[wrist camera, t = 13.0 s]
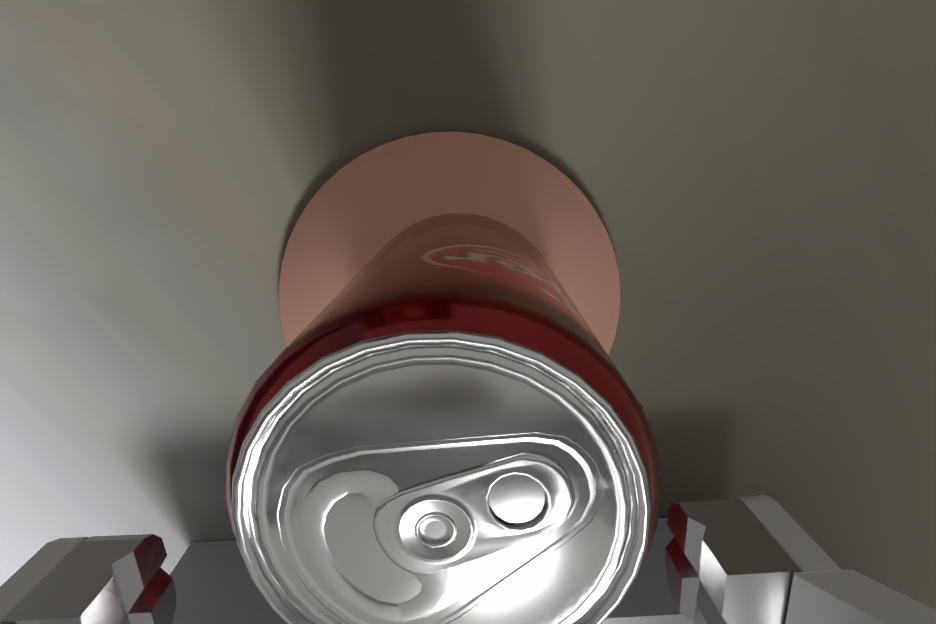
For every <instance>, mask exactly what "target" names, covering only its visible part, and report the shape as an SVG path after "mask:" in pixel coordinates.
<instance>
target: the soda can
mask: <svg viewBox="0 0 936 624" xmlns="http://www.w3.org/2000/svg"><path fill="white" fill-rule="evenodd" d="M660 494H661V473H660V466H659V459H658V452H657V445H656V441H655V439H654V436H653V433H652V431H651V428H650V426H649V423H648V421H647V418H646V416H645V413H644V410H643V408H642V406H641V404H640V403H639V401H638V400H637V398H636V397H635V395H634V394H633V392H632V391H631V389H630V388H629V386H628V385H627V383H626V382H625V380H624V379H623V377H622V375H621V374H620V372H619V371H618V369H617V368H616V366H615V365H614V363H613V362H612V360H611V359H610V357H609V356H608V354H607V353H606V351H605V350H604V348H603V347H602V345H601V344H600V342H599V341H598V339H597V338H596V336H595V335H594V333H593V332H592V330H591V329H590V327H589V326H588V324H587V322H586V321H585V319H584V318H583V316H582V315H581V313H580V312H579V310H578V309H577V307H576V306H575V304H574V303H573V301H572V300H571V298H570V297H569V295H568V294H567V292H566V291H565V289H564V288H563V286H562V285H561V283H560V282H559V280H558V279H557V277H556V276H555V274H554V272H553V271H552V269H551V268H550V266H549V265H548V263H547V262H546V261H545V259H544V258H543V256H542V255H541V253H540V252H539V250H538V249H537V248H536V247H535V246H534V245H533V244H532V243H531V242H530V241H529V240H528V239H527V238H526V237H525V236H524V235H522V234H521V233H519V232H518V231H516V230H515V229H513V228H511V227H510V226H508V225H507V224H504V223H502V222H499V221H497V220H494V219H491V218H489V217H485V216H479V215H474V214H468V213H460V214H443V215H439V216H435V217H431V218H426V219H424V220H422V221H419V222H417V223H415V224H413V225H411V226H409V227H407V228H405V229H404V230H403V231H401V232H400V233H399V234H397V235H396V236H395V237H393V238H392V239H391V240H390V241H389V242H388V243H387V244H386V245H385V246H384V247H383V248H382V249H381V250H380V251H379V252H378V253H377V254H376V255H375V256H374V257H373V258H372V259H371V260H370V261H369V263H368V264H367V265H366V266H365V267H364V268H363V269H362V270H361V271H360V272H359V273H358V274H357V275H356V276H355V277H354V278H353V279H352V280H351V281H350V282H349V283H348V284H347V285H346V286H345V287H344V288H343V290H342V291H341V292H340V293H339V294H338V295H337V296H336V297H335V298H334V299H333V300H332V301H331V302H330V303H329V304H328V305H327V306H326V307H325V308H324V309H323V310H322V311H321V312H320V313H319V314H318V315H317V317H316V318H315V319H314V320H313V321H312V322H311V323H310V324H309V325H308V326H307V327H306V328H305V329H304V330H303V331H302V332H301V333H300V334H299V335H298V336H297V337H296V338H295V339H294V340H293V341H292V342H291V344H290V345H289V346H288V347H287V348H286V349H285V350H284V351H283V352H282V353H281V354H280V355H279V356H278V358H277V359H276V360H275V361H274V362H273V363H272V364H271V365H270V367H269V368H268V369H267V370H266V371H265V372H264V373H263V374H262V375H261V377H260V378H259V379H258V380H257V381H256V383H255V385H254V387H253V388H252V390H251V392H250V394H249V396H248V398H247V399H246V401H245V403H244V405H243V407H242V409H241V410H240V412H239V414H238V416H237V420H236V423H235V427H234V431H233V434H232V438H231V442H230V445H229V449H228V453H227V466H226V502H227V507H228V512H229V517H230V522H231V526H232V531H233V534H234V536H235V539H236V541H237V545H238V549H239V551H240V553H241V555H242V558H243V560H244V562H245V564H246V567H247V569H248V571H249V573H250V576H251V578H252V580H253V582H254V583H255V585H256V586H257V588H258V589H259V590H260V592H261V593H262V595H263V596H264V597H265V599H266V600H267V602H268V603H269V604H270V606H271V607H272V609H273V610H274V611H275V612H276V613H277V614H278V615H279V616H280V617H281V618H282V619H283V620H285V621H286V622H287V623H288V624H602V623H603V622H604V621H605V620H606V618H607V617H608V616H609V615H610V614H611V613H612V612H613V611H614V610H615V609H616V607H617V606H618V605H619V604H620V603H621V601H622V600H623V598H624V596H625V594H626V593H627V591H628V589H629V588H630V586H631V584H632V583H633V581H634V579H635V578H636V576H637V574H638V573H639V570H640V568H641V567H642V565H643V563H644V562H645V560H646V558H647V555H648V552H649V549H650V546H651V543H652V540H653V537H654V534H655V531H656V528H657V525H658V516H659V505H660Z"/></svg>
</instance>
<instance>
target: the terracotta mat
mask: <svg viewBox="0 0 936 624" xmlns="http://www.w3.org/2000/svg"><path fill="white" fill-rule="evenodd" d="M460 213H468V214H474V215H479V216H485V217H489V218H491V219H494V220H497V221H499V222H502V223H504V224H507V225H508V226H510V227H511V228H513V229H515V230H516V231H518V232H519V233H521V234H522V235H524V236H525V237H526V238H527V239H528V240H529V241H530V242H531V243H532V244H533V245H534V246H535V247H536V248H537V249H538V250H539V252H540V253H541V255H542V256H543V258H544V259H545V261H546V262H547V263H548V265H549V266H550V268H551V269H552V271H553V272H554V274H555V276H556V277H557V279H558V280H559V282H560V283H561V285H562V286H563V288H564V289H565V291H566V292H567V294H568V295H569V297H570V298H571V300H572V301H573V303H574V304H575V306H576V307H577V309H578V310H579V312H580V313H581V315H582V316H583V318H584V319H585V321H586V322H587V324H588V326H589V327H590V329H591V330H592V332H593V333H594V335H595V336H596V338H597V339H598V341H599V342H600V344H601V345H602V347H603V348H604V350H605V351H606V353H607V354H608V356H609V354H610V351H611V348H612V345H613V342H614V339H615V335H616V330H617V325H618V320H619V313H620V295H621V293H620V281H619V271H618V267H617V262H616V257H615V253H614V250H613V247H612V244H611V241H610V239H609V236H608V233H607V231H606V229H605V227H604V225H603V223H602V221H601V219H600V218H599V216H598V214H597V212H596V210H595V209H594V208H593V206H592V205H591V204H590V202H589V201H588V199H587V198H586V197H585V195H584V194H583V193H582V191H581V190H580V189H579V188H578V187H577V186H576V185H575V184H574V183H573V182H572V181H571V180H570V179H569V178H568V177H567V176H566V175H565V174H563V173H562V172H561V171H559V170H558V169H557V168H556V167H554V166H553V165H552V164H550V163H549V162H548V161H546V160H545V159H543V158H541V157H539V156H538V155H536V154H534V153H532V152H531V151H529V150H527V149H525V148H523V147H520V146H518V145H515V144H513V143H510V142H508V141H505V140H502V139H498V138H494V137H490V136H486V135H482V134H474V133H465V132H430V133H424V134H419V135H413V136H407V137H404V138H401V139H398V140H395V141H391V142H388V143H385V144H383V145H380V146H378V147H376V148H374V149H372V150H370V151H368V152H366V153H364V154H362V155H360V156H359V157H357V158H356V159H354V160H353V161H351V162H350V163H348V164H347V165H345V166H344V167H343V168H341V169H340V170H339V171H338V172H337V173H336V174H334V175H333V176H332V177H331V178H330V179H329V180H328V181H327V182H326V183H325V184H324V185H323V186H322V187H321V188H320V189H319V191H318V192H317V193H316V194H315V195H314V197H313V198H312V199H311V200H310V201H309V203H308V204H307V206H306V208H305V209H304V211H303V212H302V214H301V216H300V217H299V219H298V221H297V222H296V225H295V227H294V229H293V231H292V234H291V236H290V238H289V241H288V243H287V247H286V250H285V254H284V258H283V261H282V266H281V274H280V281H279V310H280V317H281V324H282V330H283V333H284V337H285V340H286V344H287V347H288V346H289V345H290V344H291V342H292V341H293V340H294V339H295V338H296V337H297V336H298V335H299V334H300V333H301V332H302V331H303V330H304V329H305V328H306V327H307V326H308V325H309V324H310V323H311V322H312V321H313V320H314V319H315V318H316V317H317V315H318V314H319V313H320V312H321V311H322V310H323V309H324V308H325V307H326V306H327V305H328V304H329V303H330V302H331V301H332V300H333V299H334V298H335V297H336V296H337V295H338V294H339V293H340V292H341V291H342V290H343V288H344V287H345V286H346V285H347V284H348V283H349V282H350V281H351V280H352V279H353V278H354V277H355V276H356V275H357V274H358V273H359V272H360V271H361V270H362V269H363V268H364V267H365V266H366V265H367V264H368V263H369V261H370V260H371V259H372V258H373V257H374V256H375V255H376V254H377V253H378V252H379V251H380V250H381V249H382V248H383V247H384V246H385V245H386V244H387V243H388V242H389V241H390V240H391V239H392V238H393V237H395V236H396V235H397V234H399V233H400V232H401V231H403V230H404V229H405V228H407V227H409V226H411V225H413V224H415V223H417V222H419V221H422V220H424V219H426V218H431V217H435V216H439V215H443V214H460Z"/></svg>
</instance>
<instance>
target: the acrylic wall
mask: <svg viewBox="0 0 936 624" xmlns="http://www.w3.org/2000/svg"><path fill="white" fill-rule="evenodd" d="M667 521H668V518H658V525H657V528H656V531H655V534H654V537H653V540H652V543H651V546H650V549H649V552H648V555H647V558H646V560H645V562H644V563H643V565H642V567H641V568H640V570H639V573H638V574H637V576H636V578H635V579H634V581H633V583H632V584H631V586H630V588H629V589H628V591H627V593H626V594H625V596H624V598H623V600H622V601H621V603H620V604H619V605H618V606H617V607H616V609H615V610H614V611H613V612H612V613H611V614H610V615H609V616H608V617H607V618H606V620H605V621H604V622H603V623H602V624H694V622H693V621H691V620H690V619H688V618H687V617H686V616H684V615H683V614H682V613H680V612H679V610H678V608H677V606H676V604H675V602H674V600H673V597H672V594H671V592H670V589H669V586H668V582H667V576H666V569H665V547H666V546H667V545H668V544H669V543H670V541H671V540H672V539H673V538H674V535H673V533H672V532H671V530H670V528H669V526H668V525H667ZM170 576H171V577H172V578H173V580H174V584H175V589H176V609H175V613H174V617H173V620H172V624H288V623H287V622H286V621H285V620H283V619H282V618H281V617H280V616H279V615H278V614H277V613H276V612H275V611H274V610H273V609H272V607H271V606H270V604H269V603H268V602H267V600H266V599H265V597H264V596H263V595H262V593H261V592H260V590H259V589H258V588H257V586H256V585H255V583H254V582H253V580H252V578H251V576H250V573H249V571H248V569H247V567H246V564H245V562H244V560H243V558H242V555H241V553H240V551H239V549H238V545H237V541H236V540H225V541H205V542H192V543H191V544H190V546H189V547H188V549H187V550H186V552H185V553H184V555H183V556H182V558H181V559H180V561H179V562H178V564H177V565H176V567H175V568H174V570H173V571H172V573H171V574H170Z"/></svg>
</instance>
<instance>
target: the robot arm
mask: <svg viewBox="0 0 936 624" xmlns="http://www.w3.org/2000/svg"><path fill="white" fill-rule="evenodd" d="M667 525H668V526H669V528H670V530H671V532H672V533H673V535H674V538H673V539H672V540H671V541H670V543H669V544H668V545H667V546H666V547H665V569H666V576H667V582H668V586H669V589H670V592H671V594H672V597H673V600H674V602H675V604H676V606H677V608H678V610H679V612H680V613H682V614H683V615H684V616H686V617H687V618H688V619H690V620H691V621H693V622H694V624H936V610H934V609H932V608H930V607H928V606H926V605H924V604H922V603H920V602H918V601H916V600H914V599H912V598H910V597H908V596H906V595H904V594H902V593H900V592H898V591H896V590H894V589H892V588H890V587H888V586H886V585H884V584H882V583H879V582H877V581H875V580H873V579H871V578H869V577H867V576H865V575H863V574H861V573H859V572H857V571H855V570H853V569H847V570H842V569H841V568H840V567H839V566H838V565H837V564H836V563H835V562H834V561H833V560H832V559H831V558H830V557H829V556H828V555H827V554H826V553H825V552H824V551H823V550H822V549H821V548H820V547H819V545H818V544H817V543H816V542H815V541H814V540H813V539H812V538H811V537H810V536H809V535H808V534H807V533H806V532H805V531H804V530H803V529H802V528H801V527H800V526H799V525H798V524H797V523H796V522H795V521H794V519H793V518H792V517H791V516H790V515H789V514H788V513H787V512H786V511H785V510H784V509H783V508H782V507H781V506H780V505H779V504H778V503H777V502H776V501H775V500H774V499H773V498H771V497H769V496H767V495H756V496H745V497H734V498H733V499H719V500H704V501H689V502H674V503H671V506H670V508H669V511H668V521H667ZM166 556H167V554H166V551H165V547H164V544H163V541H162V538H160V537H158V536H156V535H153V534H146V535H120V536H94V537H79V538H60V539H57V540H54V541H51V542H49V543H47V544H46V545H44V546H43V547H42V548H41V549H40V550H39V551H38V552H37V553H36V554H35V555H34V556H33V557H32V558H31V559H30V560H28V561H27V562H26V563H25V564H24V565H23V566H22V567H21V568H20V569H19V570H18V571H17V572H16V573H15V574H14V575H13V576H11V577H10V578H9V579H8V580H7V581H6V582H5V583H4V584H3V585H2V586H1V587H0V624H172V620H173V617H174V613H175V609H176V589H175V584H174V580H173V578H172V577H171V576H170V575H168V574H167V573H166V572H165V571H164V570H163V569H162V568H160V567H161V565H162V563H163V562H164V560H165V558H166Z"/></svg>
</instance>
